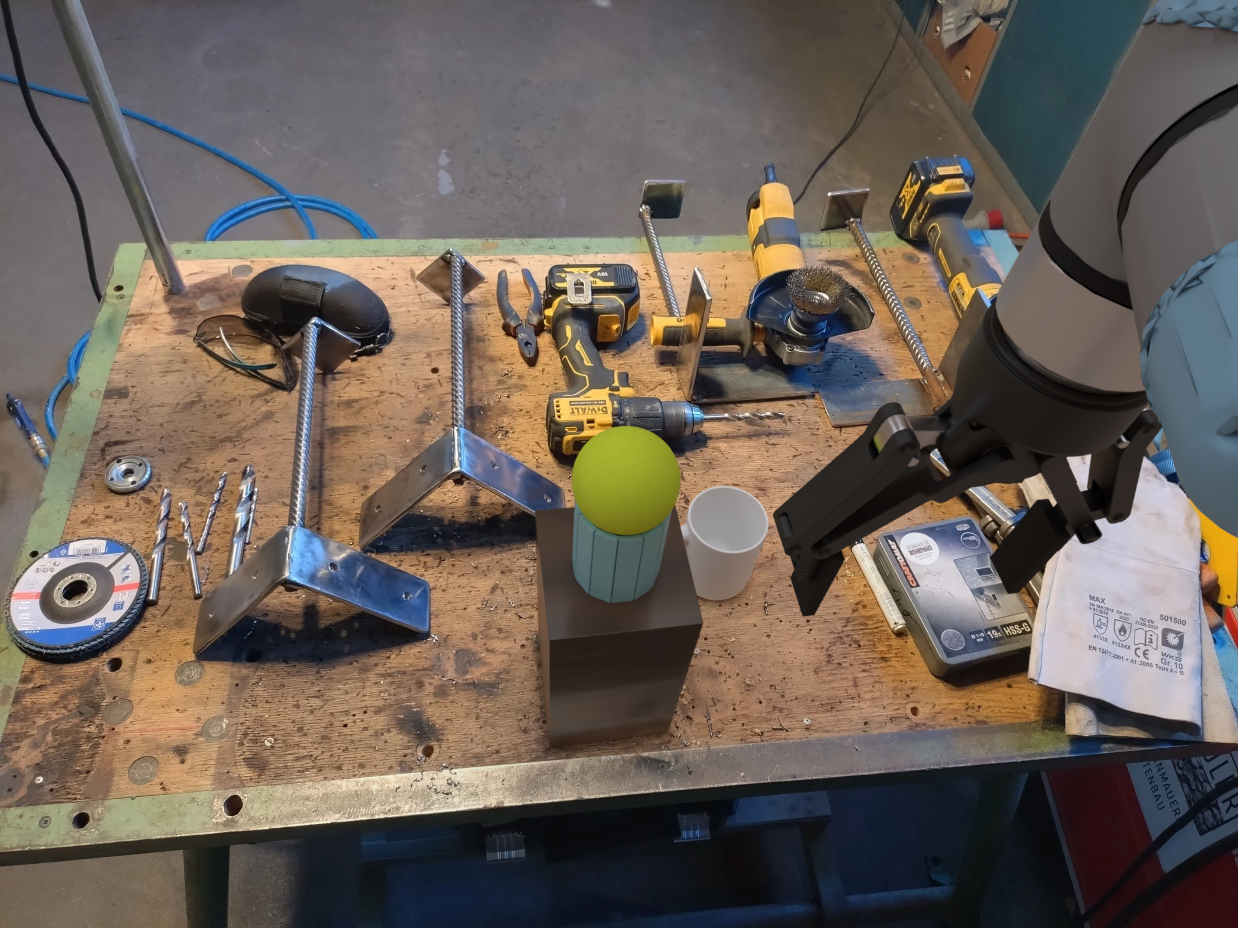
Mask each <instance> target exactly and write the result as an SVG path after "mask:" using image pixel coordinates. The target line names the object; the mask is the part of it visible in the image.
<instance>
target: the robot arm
mask: <svg viewBox="0 0 1238 928" xmlns="http://www.w3.org/2000/svg"><path fill="white" fill-rule="evenodd" d="M1141 23H1142V26H1143V27H1142V30H1141V32H1140V33H1139V35H1138V37H1137V39H1136V41H1135V43H1134V45H1133V46H1132V48H1131V50H1130V52H1129V53H1128V55H1127V57H1126V59H1125V61H1124V63H1123V64H1122V67H1121V68H1120V70H1119V71H1118V74H1117V75H1116V77H1115V79H1114V81H1113V82H1112V84H1111V87H1110V88H1109V91H1108V92H1107V94H1106V96H1105V97H1104V100H1103V101H1102V103H1101V105H1100V106H1099V109H1098V110H1097V112H1096V114H1095V116H1094V118H1093V119H1092V121H1091V123H1090V125H1089V127H1088V128H1087V130H1086V131H1085V134H1084V136H1083V137H1082V140H1081V141H1080V143H1079V144H1078V147H1077V149H1076V150H1075V152H1074V154H1073V156H1072V157H1071V159H1070V161H1069V163H1068V164H1067V167H1066V168H1065V170H1064V172H1063V174H1062V176H1061V177H1060V180H1059V182H1058V183H1057V185H1056V187H1055V189H1054V190H1053V193H1052V194H1051V196H1050V198H1049V200H1048V202H1047V203H1046V205H1045V207H1044V209H1043V210H1042V212H1041V215H1040V216H1039V217H1038V219H1037V221H1036V223H1035V225H1034V226H1033V228H1032V229H1031V232H1030V233H1029V236H1028V237H1027V239H1026V241H1025V242H1024V244H1023V246H1022V248H1021V250H1020V252H1019V253H1018V255H1017V257H1016V259H1015V260H1014V262H1013V264H1012V265H1011V268H1010V270H1009V271H1008V273H1007V274H1006V277H1005V279H1003V282H1002V284H1001V285H1000V288H999V289H998V291H997V296H996V299H995V300H994V301H993V302H992V304H990V305H989V307H988V308H987V310H986V311H985V313H984V314H983V316H982V318H981V320H980V322H979V323H978V325H977V327H976V329H975V331H974V332H973V334H972V337H971V338H970V340H969V341H968V344H967V346H966V347H965V348H964V351H963V353H962V354H961V357H960V359H959V361H958V366H957V369H956V375H955V383H954V387H953V392H952V395H951V396H950V397H949V399H948V400H946V402H945V403H943V405H941V406H940V407H938V408H937V409H936V410H934V412H933V413H932V414H931V415H930V416H924V415H923V416H922V415H920V416H919V415H918V416H916V415H915V416H914V415H907V414H906V412H905V410H904V408H903V405H902V404H901V403H900V402H896V401H890V402H888V403H885V404H883V405H882V406H880V407H879V408H878V410H876V412H875V414H874V416H873V417H872V419H871V420H870V422H869V423H868V425H867V427H866V428H865V430H864V431H863V433H862V434H860V435H859V436H858V437H857V438H856V439H855V440H853V442H851V443H850V444H849V445H848V446H847V447H846V448H844V450H842V451H841V452H840V453H839V454H838V455H837V456H836V457H834V458H833V459H832V460H831V461H830V462H829V463H828V464H826V465H825V466H824V467H823V468H822V469H820V471H818V472H817V473H816V474H815V475H814V476H813V477H812V478H810V480H808V481H807V482H806V483H805V484H803V486H801V487H800V488H799V489H798V490H797V491H796V492H795V493H793V494H792V495H791V496H790V497H789V498H788V499H787V500H786V501H784V502H783V503H782V504H781V505H780V506H778V508H776V509H775V510H774V511H773V513H772V518H773V520H774V524H775V527H776V530H777V534H778V536H779V539H780V542H781V546H782V549H783V551H784V554H785V555H786V556H788V557H789V558H790V562H791V565H792V567H793V571H792V573H791V576H790V577H789V578H790V579H789V580H790V582H791V586H792V588H793V591H794V595H795V599H796V600H797V604H798V607H799V610H800V613H801V617H812V616H815V615H816V613H817V611H818V610H819V608H820V606H821V604H822V602H823V600H824V599H825V597H826V595H827V593H828V591H829V590H830V588H831V586H832V584H833V583H834V581H835V579H836V577H837V575H838V573H839V572H840V570H841V568H842V566H843V564H844V563H845V561H846V559H845V556H844V553H843V550H845V549H846V548H848V547H849V546H852V545H853V544H856V543H857V542H858V541H860V540H862V539H864V538H865V537H868V536H870V535H871V534H873V533H875V532H877V531H878V530H881V529H882V528H883V527H885V526H887V525H889V524H891V523H893V522H894V521H896V520H898V519H900V518H902V517H903V516H905V515H907V514H909V513H910V512H912V511H914V510H915V509H918V508H919V507H921V506H923V505H924V504H926V503H928V502H930V501H932V502H935V503H937V504H944V503H947V502H949V501H950V500H952V499H953V498H955V497H957V496H959V495H961V494H963V493H965V492H967V491H968V490H971V489H972V488H981V487H984V486H989V485H994V484H1003V485H1015V484H1017V485H1018V484H1023V482H1024V481H1025V480H1027V479H1031V478H1034V477H1035V476H1038V475H1039V474H1040V476H1041V477H1042V479H1043V481H1044V483H1045V484H1046V486H1047V488H1048V490H1049V492H1050V493H1051V494H1050V495H1052V497H1053V499H1054V501H1055V502H1056V503H1055V504H1054V505H1053V503H1052V502H1051V500H1050V498H1041V499H1039V498H1038V499H1036V500H1035V501H1034V503H1033V504H1032V505H1031V506H1030V508H1029V509H1028V510H1027V511H1026V512H1025V514H1024V515H1023V516H1022V517H1021V518H1020V519H1019V521H1018V523H1016V525H1015V526H1014V527H1013V528H1012V530H1011V531H1010V532H1009V533H1008V534H1007V536H1006V537H1005V538H1004V539H1003V541H1002V542H1001V543H1000V544H999V545H998V547H997V548H996V549H995V550H994V552H993V553H992V554H991V555H990V556H989V560H990V561H991V564H992V565H993V568H994V570H995V571H996V573H997V575H998V577H999V579H1000V581H1001V583H1002V585H1003V587H1004V589H1005V591H1006V593H1007V595H1013V594H1019V593H1020V592H1021V591H1022V590H1023V589H1024V588H1025V587H1026V586H1027V585H1028V584H1029V583H1030V581H1031V580H1032V579H1034V578H1035V576H1036V575H1037V574H1038V573H1039V572H1040V571H1041V570H1042V569H1043V568H1044V567H1045V566H1046V565H1047V563H1049V561H1050V560H1051V559H1052V558H1053V557H1054V556H1055V555H1056V554H1057V553H1059V552H1060V551H1061V550H1062V549H1063V548H1064V547H1065V546H1066V545H1067V543H1069V541H1071V540H1072V539H1073V537H1074V536H1076V538H1077V540H1078V542H1079V544H1081V545H1089V544H1092V543H1095V542H1097V541H1099V540H1100V539H1102V536H1103V533H1102V531H1101V529H1100V527H1099V526H1098V525H1097V523H1096V521H1098V520H1102V519H1106V521H1107V523H1108V524H1111V525H1115V524H1119V523H1123V522H1125V521H1127V519H1128V518H1130V517H1131V514H1132V510H1133V505H1134V503H1135V501H1134V500H1135V497H1136V493H1137V488H1138V485H1139V479H1140V474H1141V472H1142V466H1143V462H1144V458H1145V453H1146V450H1147V448H1148V447H1149V446H1150V444H1151V443H1152V442H1153V441H1154V439H1155V438H1156V437H1157V435H1158V434H1160V431H1161V430H1162V431H1163V433H1164V437H1165V440H1166V444H1167V446H1168V450H1169V453H1170V456H1171V460H1172V463H1173V466H1174V470H1175V473H1176V476H1177V479H1178V481H1179V483H1180V484H1181V485H1180V486H1181V487H1182V489H1183V491H1184V492H1185V494H1186V496H1187V497H1188V499H1189V500H1190V502H1191V503H1192V504H1193V505H1194V507H1195V508H1196V510H1198V511H1199V512H1200V513H1201V514H1202V515H1204V517H1206V518H1207V519H1209V520H1210V521H1211V522H1212V523H1213V524H1214V525H1216V526H1217V527H1218V528H1219V529H1221V530H1223V531H1224V532H1225V533H1227V534H1229V535H1231V536H1232V537H1234V538H1236V539H1238V0H1157V2H1156V4H1155V5H1154V6H1152V7H1150V8H1149V9H1148V10H1147V11H1146V12H1145V14H1144V16H1143V18H1142V20H1141ZM936 450H937V452H938V453H939V455H940V458H941V459H942V462H943V463H944V466H945V468H946V469H947V471H948V474H949V475H947V476H946V477H944V478H942V479H941V477H940V475H939V472H938V471H937V469H936V466H935V465H934V463H933V461H932V459H931V455H932V452H934V451H936ZM1089 455H1090V460H1089V467H1088V468H1089V469H1088V477H1087V483H1086V489H1085V490H1081V489H1080V487H1079V484H1078V480H1077V479H1076V476H1075V473H1074V471H1073V470H1072V468H1071V466H1070V465H1071V464H1070V462H1069V460H1068V458H1075V457H1085V456H1089Z"/></svg>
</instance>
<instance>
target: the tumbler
mask: <svg viewBox="0 0 1238 928" xmlns="http://www.w3.org/2000/svg"><path fill="white" fill-rule="evenodd" d="M573 504H574V505H573V507H574V529H573V554H572V562H573V569H574V576H575V577H576V580H577V581H578V583H579V584H580V585H581V586H582V587H583V589H584V590H585V591H586V592H587V593H588V594H589V593H590V596H593V597H596V598H598V599H601V600H603V601H606V602H609V603H610V602H612V603H618V602H628V601H633V599H634V600H636V599H637V598H639V597H640V596H642V595H643V594H645V593H646V592H648V591H649V590H650V589H651V587H653V585H654V582H655V580H656V578H657V575H658V573H659V570H660V565H661V560H662V555H663V550H664V546H665V541H666V536H667V531H668V526H669V522H670V517H671V512H672V511H671V512H670V514H669V515H668V516H667V517H666V518H665V519H664V520H663V521H662V522H661V523H660V524H658V525H657V526H655V527H654V528H652V529H650V530H648V531H645V532H643V533H639V534H633V535H619V534H614V533H610V532H607V531H605V530H602V529H600V528H599V527H597V526H595V525H594V524H593V523H591V522H590V521H589V520H588V519H587V518H586V517H585V516H584V514H583V513H582V512H581V510H580V508H579V507H578V505H577V503H576V500H575V499H574V503H573Z"/></svg>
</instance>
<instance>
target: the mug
mask: <svg viewBox="0 0 1238 928" xmlns="http://www.w3.org/2000/svg"><path fill="white" fill-rule="evenodd" d="M691 500H692V501H691V502H690V504H689V506H688V509H687V515H686V519H685V523H684V524H682V525H680V526H681V531H682V535H683V539H684V543H685V547H686V552H687V556H688V560H689V564H690V569H691V573H692V577H693V581H694V586H695V590H696V594H697V597H698V598H702V599H704V600H707V601H725V600H728V599H732V598H734V597H735V596H737V595H739V594H741V592H742V591H743V590H744V589H745V588H746V586H747V585H748V583H749V581H750V579H751V577H752V575H753V571H754V569H755V566H756V564H757V561H758V558H759V556H760V553H761V550H762V547H763V546H764V543H765V541H766V538H767V535H768V532H769V525H770V524H769V523H770V522H769V521H770V520H769V517H768V514H767V511H766V509H765V507H764V506H763V504H762V503H761V502H760V501H759V500H758V499H757V498H756V497H755V496H754V495H753V494H751V493H749V492H748V491H746V490H744V489H741V488H739V487H736V486H730V485H717V486H712V487H708V488H706V489H704V490H702V491H700V492H699V493H698V494H697V495H696V496H695V497H693V499H691Z"/></svg>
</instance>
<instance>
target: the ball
mask: <svg viewBox="0 0 1238 928" xmlns="http://www.w3.org/2000/svg"><path fill="white" fill-rule="evenodd" d="M681 479H682V477H681V469H680V465H679V462H678V460H677V457H676V456H675V453H674V452H673V450H672V449H671V447H670V446H669V445H668V443H666V441H664V440H663V439H662V438H661V437H660V436H659V435H657V434H655V433H654V432H652V431H650V430H647V429H646V428H642V427H638V426H633V425H620V426H614V427H610V428H607V429H605V430H602V431H601V432H599V433H597V434H596V435H594V436H593V437H591V438H590V439H589V440H588V441H587V442H585V444H584V445H583V446H582V448H581V450H580V451H579V452H578V454H577V456H576V458H575V460H574V463H573V467H572V471H571V489H572V494H573V498H574V501H575V500H576V503H577V505H578V507H579V508H580V510H581V512H582V513H583V514H584V516H585V517H586V518H587V519H588V520H589V521H590V522H591V523H593V524H594V525H595V526H597V527H599V528H600V529H602V530H605V531H607V532H610V533H614V534H619V535H633V534H639V533H643V532H645V531H648V530H650V529H652V528H654V527H655V526H657V525H658V524H660V523H661V522H662V521H663V520H664V519H665V518H666V517H667V516H668V515H669V514H670V512H671V511H672V509H673V508H674V506H675V505H676V504H677V501H678V499H679V495H680V491H681V484H682V481H681Z"/></svg>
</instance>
